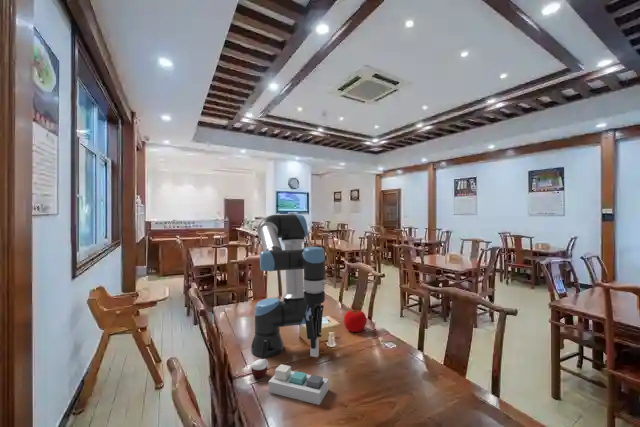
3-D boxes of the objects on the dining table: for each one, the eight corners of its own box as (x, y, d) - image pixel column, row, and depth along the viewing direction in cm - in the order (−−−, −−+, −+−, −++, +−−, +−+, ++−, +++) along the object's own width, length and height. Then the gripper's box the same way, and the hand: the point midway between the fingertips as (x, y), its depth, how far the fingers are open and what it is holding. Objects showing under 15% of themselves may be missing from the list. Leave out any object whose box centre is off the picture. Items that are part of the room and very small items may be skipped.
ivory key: (275, 380, 112) (274, 369, 112) (280, 374, 117) (280, 364, 117) (285, 383, 111) (285, 372, 111) (291, 376, 115) (290, 366, 115)
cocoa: (255, 383, 116) (255, 352, 116) (246, 377, 121) (245, 347, 120) (274, 372, 124) (274, 343, 123) (264, 367, 128) (264, 339, 128)
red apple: (341, 333, 162) (340, 312, 162) (348, 324, 175) (348, 305, 174) (362, 336, 158) (362, 315, 158) (368, 327, 170) (368, 307, 170)
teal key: (290, 388, 110) (290, 377, 110) (296, 381, 114) (295, 371, 114) (301, 390, 109) (301, 379, 108) (306, 383, 113) (306, 373, 113)
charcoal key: (306, 391, 108) (306, 380, 108) (311, 385, 112) (311, 374, 112) (318, 394, 106) (318, 383, 106) (322, 387, 110) (322, 376, 110)
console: (268, 392, 111) (268, 381, 111) (281, 378, 119) (280, 368, 119) (319, 405, 103) (319, 393, 103) (328, 389, 112) (328, 378, 112)
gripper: (317, 296, 101) (317, 366, 101) (330, 287, 113) (330, 349, 114) (296, 294, 104) (297, 362, 104) (311, 285, 116) (312, 346, 116)
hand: (314, 355), depth 109 cm, fingers closed
